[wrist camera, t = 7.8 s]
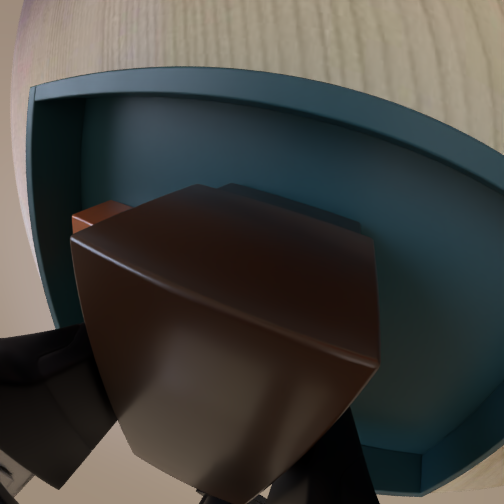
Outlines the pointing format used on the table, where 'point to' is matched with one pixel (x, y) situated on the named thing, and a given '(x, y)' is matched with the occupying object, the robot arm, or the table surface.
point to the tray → (320, 196)
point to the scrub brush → (228, 329)
